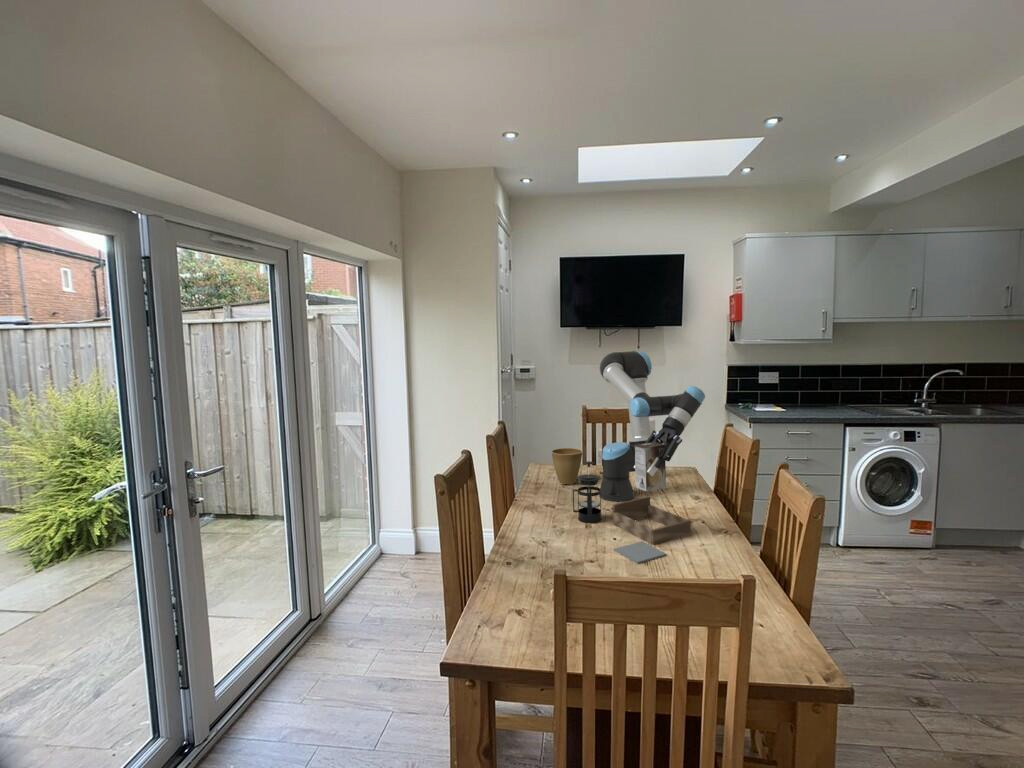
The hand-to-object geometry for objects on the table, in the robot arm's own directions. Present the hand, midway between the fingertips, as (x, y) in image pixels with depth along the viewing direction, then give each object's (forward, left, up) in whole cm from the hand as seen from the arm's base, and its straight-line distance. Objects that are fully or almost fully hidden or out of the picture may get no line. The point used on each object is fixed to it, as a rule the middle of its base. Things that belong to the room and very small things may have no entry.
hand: (642, 471), depth 192 cm
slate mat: (+13, -13, -23) cm, 29 cm away
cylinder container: (-54, +48, -23) cm, 75 cm away
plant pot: (-68, +11, -23) cm, 72 cm away
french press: (-22, -9, -23) cm, 33 cm away
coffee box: (0, +4, -7) cm, 8 cm away
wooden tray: (-1, +4, -23) cm, 23 cm away
